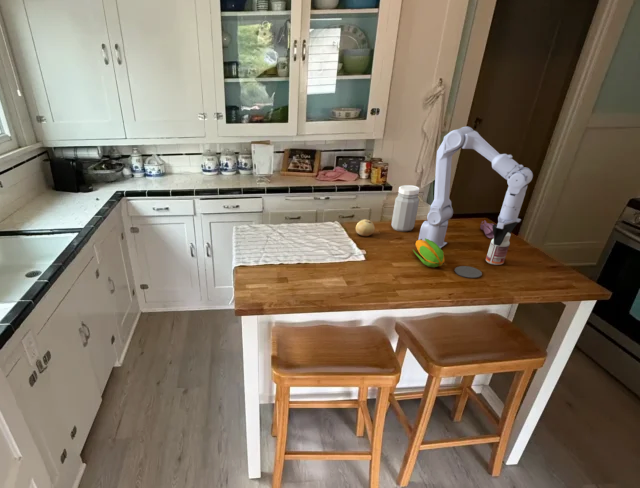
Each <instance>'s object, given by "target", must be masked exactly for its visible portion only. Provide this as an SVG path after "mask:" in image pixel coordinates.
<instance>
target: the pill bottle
mask: <svg viewBox="0 0 640 488" xmlns="http://www.w3.org/2000/svg"><path fill="white" fill-rule="evenodd" d="M511 236H512V234H510V233H507V234H506V236H505V237H504V240H503V242H502V243H501V245H500V246H498V245H494V238H491V240H490V243H489V247H488V251H487V254H486V257H485V262H486V263H488V264H490V265H493V266H500V265H503V264H504V263H505V260H506V257H507V254H508V251H509V247H510V244H511V242H510V239H511Z"/></svg>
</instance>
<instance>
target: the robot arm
mask: <svg viewBox="0 0 640 488" xmlns="http://www.w3.org/2000/svg"><path fill="white" fill-rule="evenodd" d="M460 149H462V150H474V151H476V152H477V153H478V154H480V155H481V156H482V157H484V158H485V159H487V160H488V161H489V162H490V163H491V168H492V170H493V171H495V172H496V173H497V174H499V175H500V176H501V177H502V178H503V179H505V180H506V182H507V185H508V186H507V190H506V191H505V195H504V199H503V202H502V206H501V209H500V213H499V215H498V216H497V224H496V223H493V224H494V225H493V227H492V229H493V232H494V245H498V246H500V245H501V243H502V242H503V240H504V237H505V236H506V234H507V233H510V234H511V233H512V232H513V230H514V228H516V226H517V225H518V224H519V223H521V221H522V219H521V218H519V214H520V211H521V208H522V205H523V202H524V199H525V196H526V192H527V189H528V185H529V184H530V183H531V182H532V180H533V177H534V174H533V171H532V170H531V169H530V168H529V167H524V165H523V164H519V163H518V162H517V161H516V160H515V159H513V155H512V154H507V153H499V151H497V150H496V148H494V147H493V146H492V145H490V143H488V142H487V141H486V140H485V139H484V138H483V136H481V134H479V132H478V131H477V130H474V129H473V128H472V127H471V126H462V127H460V128H457V129H453V130H450V131H449V132H447V134H445V135H444V136H443V140H442V142H441V144H440V145H439V147H438V149H437V150H436V156H435V157H436V159H435V176H434V192H433V193H434V195H433V201H432V203H431V204H430V206H429V211H428V213H427V216H426V219H427V220H424V221H423V222H422V223H421V226H420V229H419V234H418V240H424V241H426V240H425V239H429V240H431V241H433V242H434V243H436V244H437V245H438V246H439V247H440V249H442V248H443V247H444V246H447V244H448V242H446V241H445V239H446V234H447V230H448V226H449V220H450V219H451V218H452V217H453V214H454V209H453V207H452V200H451V199H450V189H451V177H452V176H451V175H452V163H453V155H455V154H456V153H457V152H458V151H459V150H460ZM511 235H512V234H511Z"/></svg>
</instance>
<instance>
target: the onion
mask: <svg viewBox="0 0 640 488" xmlns="http://www.w3.org/2000/svg"><path fill="white" fill-rule="evenodd" d="M375 230H376V229H375V224H374V223H373V221H372V218H371V219H370V220H369V219H366V218H364V219H361V220H360V221H358V222H357V224H356V225H355V232H356V234H357V235H360V236H362V237H369V236H371V235H373V234H374V233H375Z"/></svg>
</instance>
